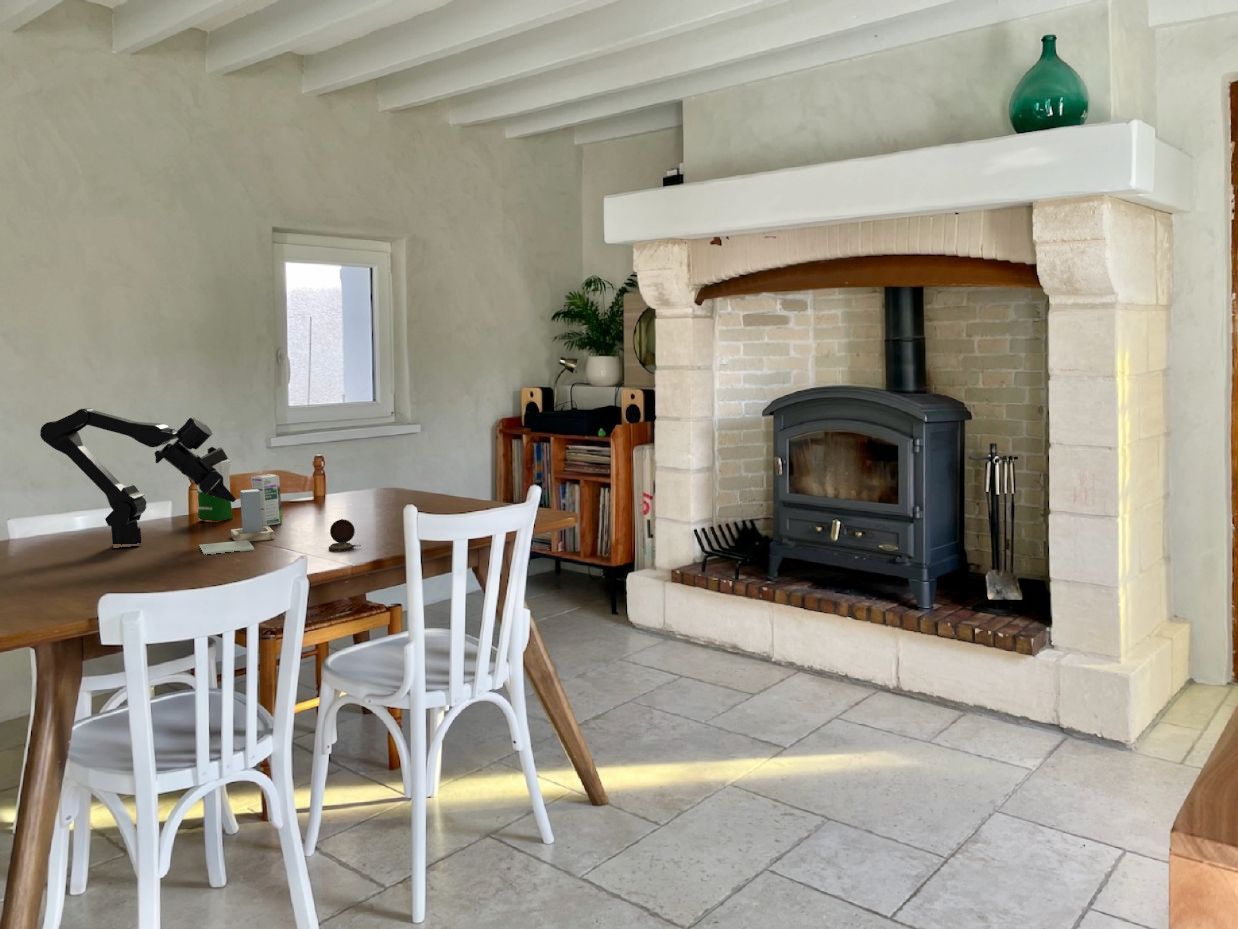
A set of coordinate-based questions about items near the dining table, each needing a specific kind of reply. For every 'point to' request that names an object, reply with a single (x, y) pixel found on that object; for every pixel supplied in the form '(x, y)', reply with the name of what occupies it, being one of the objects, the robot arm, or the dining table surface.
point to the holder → (252, 534)
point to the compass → (342, 535)
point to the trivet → (226, 547)
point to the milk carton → (216, 506)
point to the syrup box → (269, 498)
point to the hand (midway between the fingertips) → (232, 498)
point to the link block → (251, 511)
